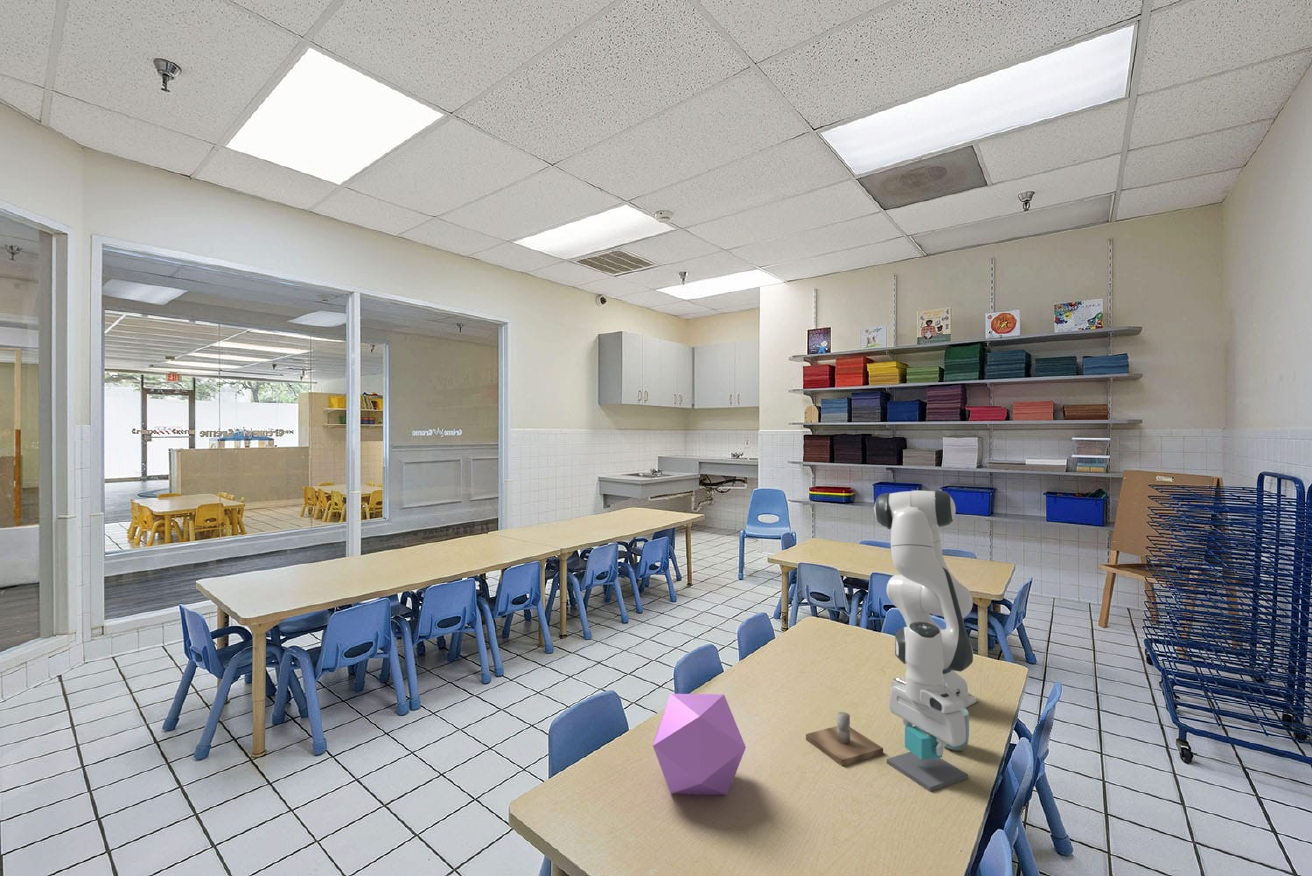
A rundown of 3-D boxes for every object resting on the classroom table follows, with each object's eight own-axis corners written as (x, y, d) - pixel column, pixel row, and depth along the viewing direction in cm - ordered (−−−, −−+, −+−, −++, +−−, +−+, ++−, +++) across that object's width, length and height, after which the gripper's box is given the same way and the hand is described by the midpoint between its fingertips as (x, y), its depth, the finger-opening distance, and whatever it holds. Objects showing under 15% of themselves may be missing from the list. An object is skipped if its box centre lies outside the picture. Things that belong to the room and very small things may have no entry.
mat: (923, 751, 148) (923, 747, 148) (967, 778, 136) (967, 774, 136) (886, 762, 142) (886, 758, 142) (930, 791, 130) (930, 787, 130)
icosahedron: (655, 721, 150) (654, 669, 135) (734, 722, 149) (741, 670, 135) (653, 815, 132) (651, 768, 117) (743, 817, 131) (752, 770, 117)
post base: (845, 729, 159) (845, 699, 159) (883, 753, 147) (883, 721, 147) (805, 739, 154) (805, 708, 154) (841, 765, 141) (841, 732, 141)
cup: (966, 741, 152) (966, 705, 153) (972, 756, 145) (972, 718, 145) (934, 737, 155) (934, 700, 155) (939, 751, 148) (938, 713, 148)
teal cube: (904, 747, 141) (905, 726, 141) (924, 744, 142) (925, 724, 143) (921, 759, 135) (921, 737, 135) (942, 757, 137) (942, 735, 137)
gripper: (883, 676, 148) (883, 729, 147) (951, 709, 129) (951, 770, 129) (900, 673, 150) (900, 724, 150) (970, 705, 131) (970, 764, 131)
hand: (924, 746), depth 139 cm, fingers closed on teal cube, 6 cm apart
